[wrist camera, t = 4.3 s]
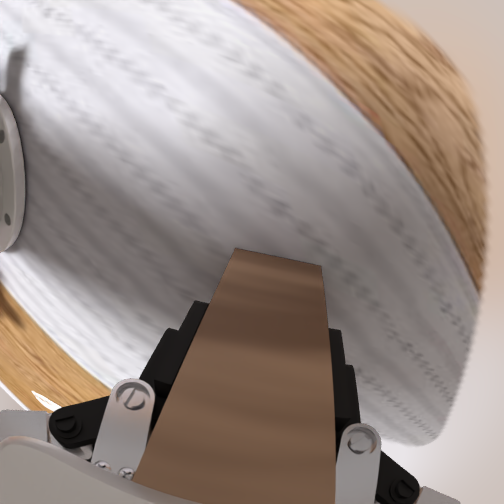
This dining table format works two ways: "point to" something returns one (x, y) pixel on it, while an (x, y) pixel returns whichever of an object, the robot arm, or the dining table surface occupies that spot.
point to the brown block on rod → (252, 394)
